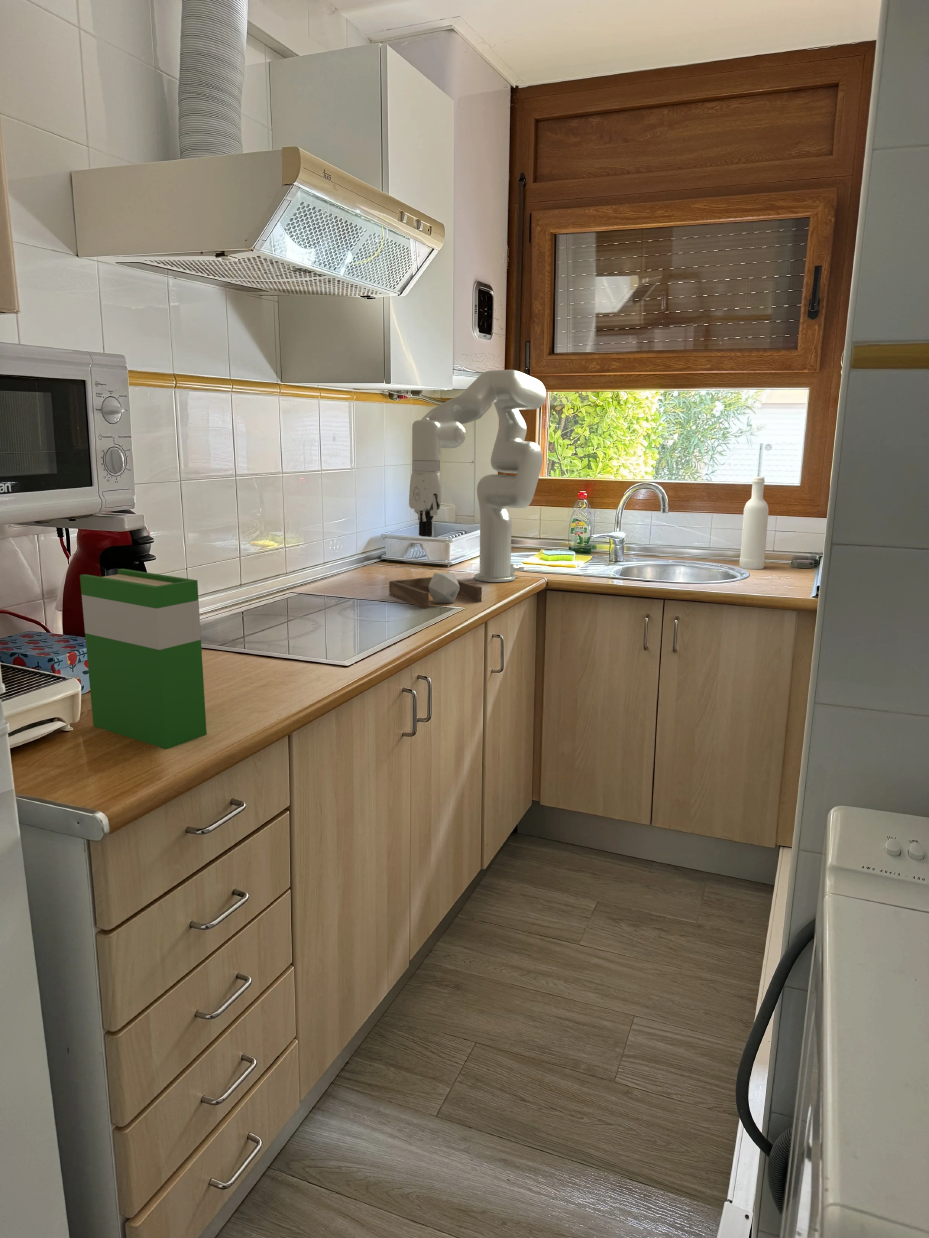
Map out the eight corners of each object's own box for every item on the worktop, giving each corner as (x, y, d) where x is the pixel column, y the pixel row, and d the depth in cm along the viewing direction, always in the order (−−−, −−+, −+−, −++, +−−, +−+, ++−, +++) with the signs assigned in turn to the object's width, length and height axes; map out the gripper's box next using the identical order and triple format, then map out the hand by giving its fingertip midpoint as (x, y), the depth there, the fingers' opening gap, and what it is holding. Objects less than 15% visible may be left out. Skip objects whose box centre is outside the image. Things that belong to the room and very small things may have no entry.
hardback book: (93, 725, 138) (79, 575, 133) (133, 713, 144) (122, 568, 139) (166, 749, 128) (155, 587, 123) (206, 734, 134) (197, 580, 129)
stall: (443, 589, 251) (443, 575, 251) (481, 601, 235) (481, 587, 234) (389, 595, 243) (389, 581, 242) (424, 608, 226) (424, 593, 225)
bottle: (746, 565, 299) (753, 476, 292) (768, 567, 294) (775, 477, 287) (734, 567, 293) (741, 476, 287) (757, 570, 288) (764, 478, 282)
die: (448, 609, 229) (467, 578, 230) (420, 591, 229) (439, 561, 231) (448, 613, 237) (467, 583, 238) (421, 597, 237) (440, 567, 239)
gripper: (400, 466, 239) (400, 533, 243) (427, 468, 227) (426, 539, 230) (424, 466, 243) (424, 532, 247) (452, 468, 230) (451, 538, 234)
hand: (425, 535), depth 238 cm, fingers closed
